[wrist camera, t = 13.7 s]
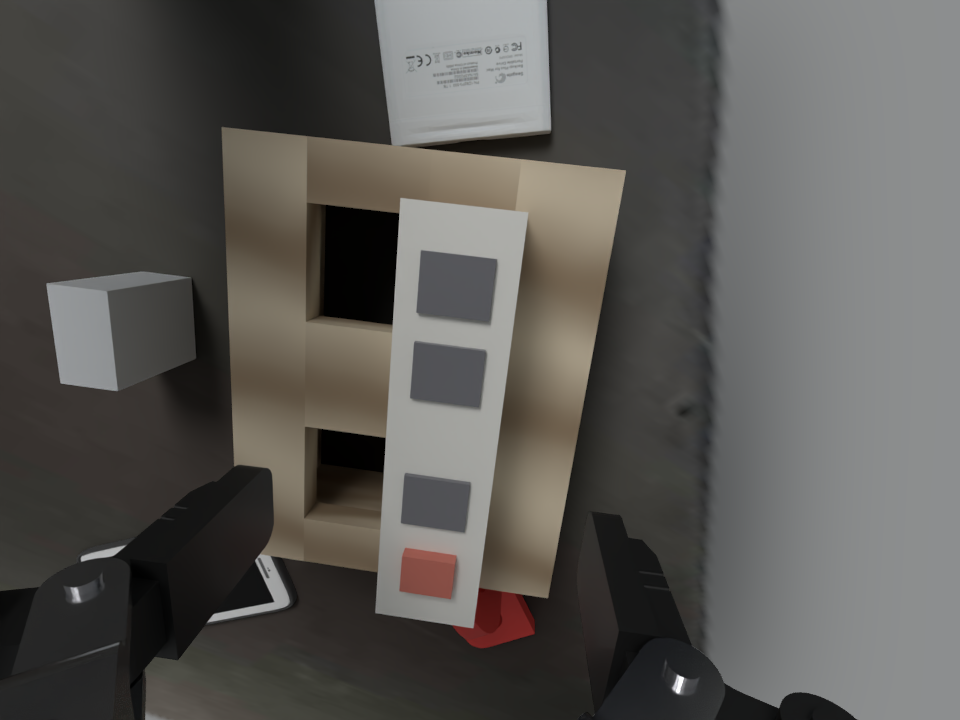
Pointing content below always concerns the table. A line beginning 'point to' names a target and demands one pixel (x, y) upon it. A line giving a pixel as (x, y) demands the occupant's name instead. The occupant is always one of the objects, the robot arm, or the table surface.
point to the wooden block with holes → (367, 346)
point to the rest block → (121, 328)
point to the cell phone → (251, 596)
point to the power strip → (445, 403)
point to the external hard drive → (464, 69)
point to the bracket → (498, 619)
